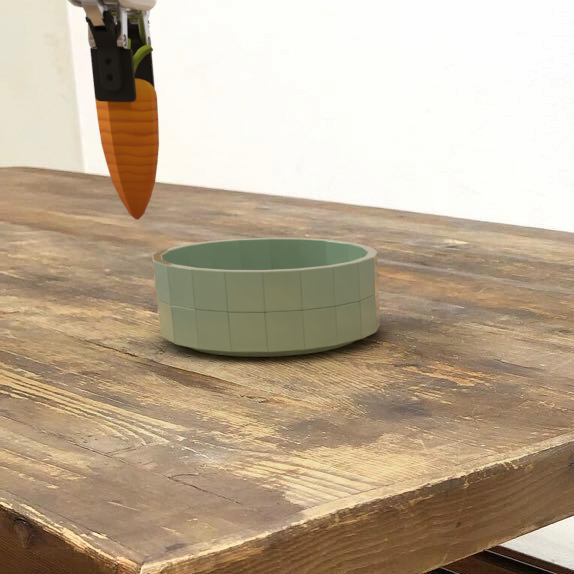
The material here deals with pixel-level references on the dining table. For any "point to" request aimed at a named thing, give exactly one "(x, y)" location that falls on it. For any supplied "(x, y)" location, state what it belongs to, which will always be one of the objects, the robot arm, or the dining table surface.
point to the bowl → (267, 295)
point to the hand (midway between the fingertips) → (126, 98)
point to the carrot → (132, 141)
